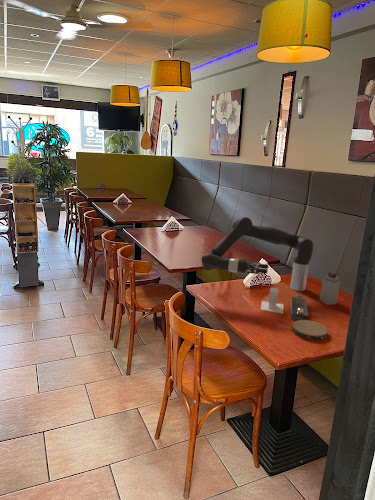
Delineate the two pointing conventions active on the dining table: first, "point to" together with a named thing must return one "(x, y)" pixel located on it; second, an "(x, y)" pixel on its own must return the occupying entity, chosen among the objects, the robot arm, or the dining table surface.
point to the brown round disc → (309, 330)
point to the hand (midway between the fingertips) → (267, 269)
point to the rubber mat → (265, 308)
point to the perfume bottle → (330, 289)
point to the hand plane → (299, 308)
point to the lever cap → (273, 298)
